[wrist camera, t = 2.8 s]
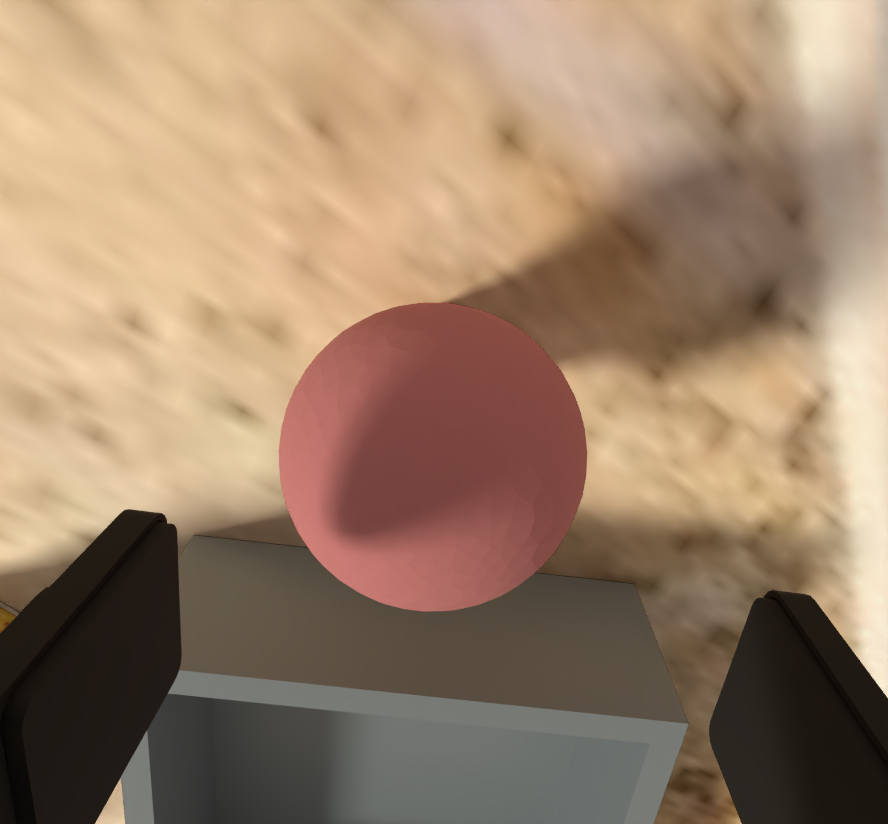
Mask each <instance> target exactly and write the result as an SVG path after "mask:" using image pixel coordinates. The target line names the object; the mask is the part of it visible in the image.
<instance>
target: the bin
mask: <svg viewBox="0 0 888 824" xmlns="http://www.w3.org/2000/svg"><path fill="white" fill-rule="evenodd" d="M178 572H179V597H180V623H181V648H182V659H181V665H180V669H179V672H178V675H177V677H176V679H175V681H174V683H173V685H172V687H171V688H170V690H169V692H168V694H167V696H166V697H165V699H164V701H163V703H162V705H161V706H160V708H159V710H158V712H157V713H156V715H155V717H154V719H153V721H152V722H151V724H150V726H149V728H148V730H147V731H146V733H145V735H144V737H143V738H142V740H141V742H140V744H139V746H138V747H137V749H136V751H135V753H134V755H133V756H132V758H131V760H130V762H129V763H128V765H127V767H126V769H125V771H124V772H123V774H122V776H121V784H122V794H123V804H124V814H125V824H654V821H655V818H656V816H657V813H658V810H659V807H660V804H661V801H662V799H663V796H664V793H665V790H666V787H667V784H668V782H669V779H670V776H671V773H672V770H673V767H674V765H675V762H676V759H677V756H678V753H679V750H680V748H681V745H682V742H683V739H684V736H685V733H686V731H687V728H688V725H689V723H688V720H687V718H686V715H685V713H684V710H683V707H682V705H681V702H680V700H679V697H678V695H677V692H676V690H675V687H674V684H673V682H672V679H671V677H670V674H669V672H668V669H667V666H666V664H665V661H664V659H663V656H662V654H661V651H660V649H659V646H658V643H657V641H656V638H655V636H654V633H653V631H652V628H651V626H650V623H649V620H648V618H647V615H646V613H645V610H644V608H643V605H642V602H641V600H640V597H639V595H638V592H637V590H636V587H635V585H634V584H630V583H621V582H612V581H603V580H594V579H585V578H575V577H566V576H557V575H548V574H539V573H534V574H533V575H532V576H530V577H529V578H528V579H527V580H525V581H524V582H523V583H521V584H520V585H519V586H517V587H516V588H514V589H512V590H510V591H509V592H507V593H505V594H504V595H502V596H499V597H497V598H495V599H492V600H490V601H487V602H485V603H482V604H480V605H476V606H471V607H467V608H463V609H458V610H452V611H416V610H407V609H402V608H398V607H394V606H390V605H386V604H383V603H380V602H378V601H375V600H373V599H371V598H369V597H367V596H365V595H363V594H361V593H359V592H357V591H355V590H354V589H352V588H351V587H349V586H348V585H346V584H344V583H343V582H341V581H340V580H339V579H337V578H336V577H335V576H334V575H333V574H332V573H331V572H329V571H328V570H327V569H326V568H325V567H324V566H323V565H322V564H321V563H320V562H319V561H318V560H317V558H316V557H315V556H314V555H313V554H312V552H311V551H310V550H309V548H305V547H295V546H286V545H277V544H268V543H259V542H250V541H241V540H232V539H223V538H214V537H205V536H196V535H194V536H193V537H192V539H191V540H190V542H189V543H188V545H187V546H186V548H185V549H184V551H183V552H182V554H181V555H180V557H179V558H178Z"/></svg>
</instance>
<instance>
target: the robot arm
mask: <svg viewBox="0 0 888 824" xmlns="http://www.w3.org/2000/svg"><path fill="white" fill-rule="evenodd" d="M181 659H182V648H181V623H180V597H179V572H178V546H177V530H176V527H175V525H174V524H168V523H167V520H166V517H165V515H163V514H162V513H154V512H146V511H138V510H130V509H128V510H124V511H123V512H122V513H120V514H119V516H118V517H117V518H116V519H115V520H114V521H113V522H112V523H111V524H110V525H109V526H108V527H107V528H106V529H105V530H104V531H103V532H102V533H101V534H100V535H99V536H98V537H97V538H96V539H95V540H94V542H93V543H92V544H91V545H90V546H89V547H88V548H87V549H86V550H85V551H84V552H83V553H82V554H81V555H80V556H79V557H78V558H77V559H76V560H75V561H74V562H73V563H72V564H71V565H70V566H69V568H68V569H67V570H66V571H65V572H64V573H63V574H62V575H61V576H60V577H59V578H58V579H57V580H56V581H55V582H54V583H53V584H52V585H51V586H50V587H47V588H45V589H44V590H43V591H42V592H40V593H39V594H38V595H37V596H36V597H35V598H34V599H33V600H32V601H31V602H30V603H29V604H28V605H27V606H26V607H25V608H24V609H23V610H22V611H21V612H20V613H19V614H18V615H17V616H16V617H15V619H14V620H13V621H12V622H11V623H10V624H9V625H8V626H7V627H6V628H5V629H4V630H3V631H2V632H1V633H0V824H95V822H96V821H97V819H98V817H99V815H100V813H101V812H102V810H103V808H104V806H105V804H106V803H107V801H108V799H109V797H110V796H111V794H112V792H113V790H114V788H115V787H116V785H117V783H118V781H119V779H120V778H121V776H122V774H123V772H124V771H125V769H126V767H127V765H128V763H129V762H130V760H131V758H132V756H133V755H134V753H135V751H136V749H137V747H138V746H139V744H140V742H141V740H142V738H143V737H144V735H145V733H146V731H147V730H148V728H149V726H150V724H151V722H152V721H153V719H154V717H155V715H156V713H157V712H158V710H159V708H160V706H161V705H162V703H163V701H164V699H165V697H166V696H167V694H168V692H169V690H170V688H171V687H172V685H173V683H174V681H175V679H176V677H177V675H178V672H179V669H180V665H181ZM709 736H710V743H711V746H712V749H713V751H714V754H715V757H716V759H717V762H718V764H719V767H720V769H721V772H722V774H723V777H724V779H725V782H726V785H727V787H728V790H729V792H730V795H731V797H732V800H733V802H734V805H735V808H736V810H737V813H738V815H739V818H740V820H741V823H742V824H888V698H887V697H886V695H885V694H884V693H883V691H882V690H881V689H880V687H879V686H878V685H877V683H876V682H875V681H874V679H873V678H872V676H871V675H870V674H869V672H868V671H867V670H866V668H865V667H864V666H863V664H862V663H861V662H860V660H859V659H858V658H857V656H856V655H855V654H854V652H853V651H852V650H851V648H850V647H849V646H848V644H847V643H846V642H845V640H844V639H843V638H842V636H841V635H840V633H839V632H838V631H837V629H836V628H835V627H834V625H833V624H832V623H831V621H830V620H829V619H828V617H827V616H826V615H825V613H824V612H823V611H822V609H821V608H820V607H819V605H818V604H817V603H816V601H815V600H814V599H813V598H812V597H811V596H809V595H806V594H798V593H791V592H783V591H775V590H772V591H769V592H768V593H767V594H766V595H765V596H764V598H757V599H756V600H755V601H754V603H753V605H752V607H751V610H750V613H749V616H748V618H747V621H746V624H745V627H744V629H743V632H742V635H741V638H740V641H739V643H738V646H737V649H736V652H735V654H734V657H733V660H732V663H731V666H730V668H729V671H728V674H727V677H726V679H725V682H724V685H723V688H722V690H721V693H720V696H719V699H718V702H717V704H716V707H715V710H714V713H713V715H712V718H711V722H710V728H709Z"/></svg>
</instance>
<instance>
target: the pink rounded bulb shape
mask: <svg viewBox="0 0 888 824" xmlns="http://www.w3.org/2000/svg"><path fill="white" fill-rule="evenodd" d="M586 466H587V447H586V438H585V429H584V425H583V421H582V416H581V413H580V410H579V407H578V404H577V401H576V398H575V396H574V394H573V392H572V390H571V388H570V386H569V384H568V382H567V381H566V379H565V377H564V375H563V373H562V372H561V370H560V369H559V367H558V366H557V365H556V364H555V362H554V361H553V360H552V359H551V358H550V356H549V355H548V354H547V353H546V352H545V351H544V350H543V349H542V348H541V347H540V346H539V345H538V344H537V343H536V342H535V341H534V340H533V339H532V338H531V337H529V336H528V335H527V334H525V333H524V332H523V331H521V330H520V329H518V328H517V327H516V326H514V325H512V324H510V323H508V322H506V321H504V320H503V319H501V318H499V317H497V316H495V315H493V314H490V313H487V312H484V311H481V310H478V309H475V308H471V307H466V306H461V305H456V304H451V303H417V304H411V305H404V306H398V307H394V308H391V309H388V310H385V311H382V312H379V313H376V314H374V315H372V316H370V317H368V318H366V319H364V320H362V321H360V322H358V323H356V324H354V325H353V326H351V327H350V328H348V329H346V330H345V331H343V332H342V333H341V334H339V335H338V336H337V337H336V338H335V339H333V340H332V341H331V342H330V343H329V344H328V345H327V346H326V347H325V348H324V349H323V350H322V351H321V352H320V353H319V354H318V355H317V356H316V357H315V359H314V360H313V361H312V363H311V364H310V365H309V366H308V368H307V369H306V370H305V372H304V374H303V375H302V377H301V379H300V381H299V382H298V384H297V386H296V387H295V389H294V392H293V394H292V397H291V399H290V401H289V404H288V406H287V409H286V413H285V417H284V421H283V424H282V429H281V437H280V445H279V467H280V479H281V485H282V490H283V495H284V499H285V502H286V506H287V509H288V511H289V513H290V516H291V518H292V520H293V522H294V525H295V527H296V529H297V531H298V533H299V535H300V536H301V538H302V539H303V541H304V542H305V544H306V545H307V547H308V548H309V550H310V551H311V552H312V554H313V555H314V556H315V557H316V558H317V560H318V561H319V562H320V563H321V564H322V565H323V566H324V567H325V568H326V569H327V570H328V571H329V572H331V573H332V574H333V575H334V576H335V577H336V578H337V579H339V580H340V581H341V582H343V583H344V584H346V585H348V586H349V587H351V588H352V589H354V590H355V591H357V592H359V593H361V594H363V595H365V596H367V597H369V598H371V599H373V600H375V601H378V602H380V603H383V604H386V605H390V606H394V607H398V608H402V609H407V610H416V611H452V610H458V609H463V608H467V607H471V606H476V605H480V604H482V603H485V602H487V601H490V600H492V599H495V598H497V597H499V596H502V595H504V594H505V593H507V592H509V591H510V590H512V589H514V588H516V587H517V586H519V585H520V584H521V583H523V582H524V581H525V580H527V579H528V578H529V577H530V576H532V575H533V574H534V573H535V572H536V571H537V570H538V569H539V568H540V567H541V566H542V565H543V564H544V563H545V562H546V561H547V560H548V559H549V558H550V556H551V555H552V554H553V553H554V552H555V551H556V550H557V548H558V546H559V545H560V543H561V542H562V540H563V539H564V537H565V535H566V534H567V532H568V531H569V529H570V526H571V524H572V521H573V519H574V516H575V514H576V512H577V509H578V506H579V504H580V501H581V498H582V495H583V490H584V484H585V479H586Z"/></svg>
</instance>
